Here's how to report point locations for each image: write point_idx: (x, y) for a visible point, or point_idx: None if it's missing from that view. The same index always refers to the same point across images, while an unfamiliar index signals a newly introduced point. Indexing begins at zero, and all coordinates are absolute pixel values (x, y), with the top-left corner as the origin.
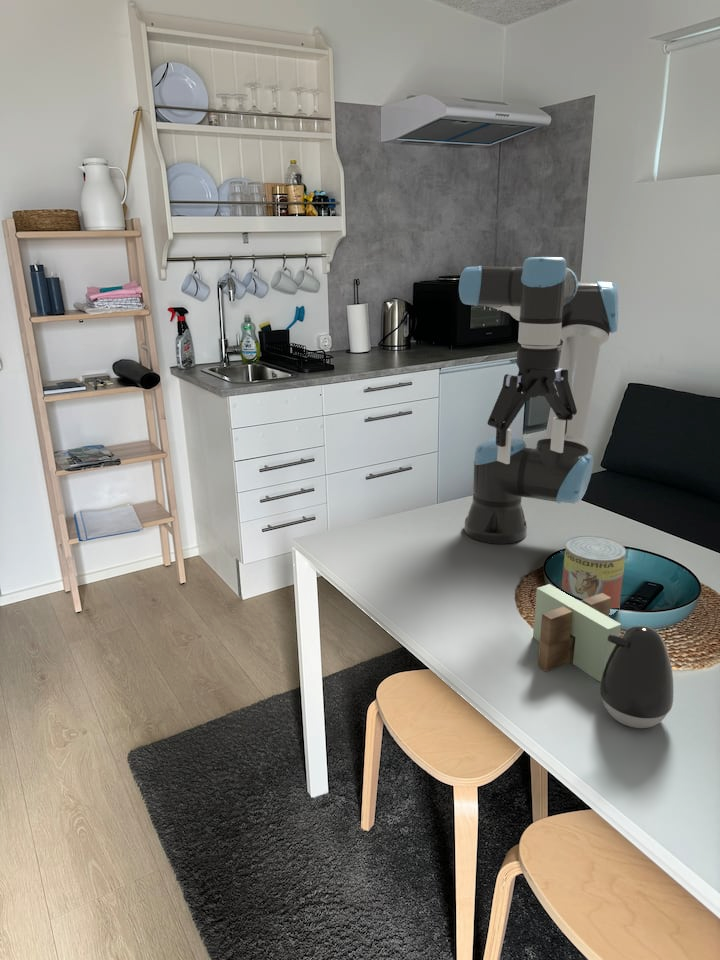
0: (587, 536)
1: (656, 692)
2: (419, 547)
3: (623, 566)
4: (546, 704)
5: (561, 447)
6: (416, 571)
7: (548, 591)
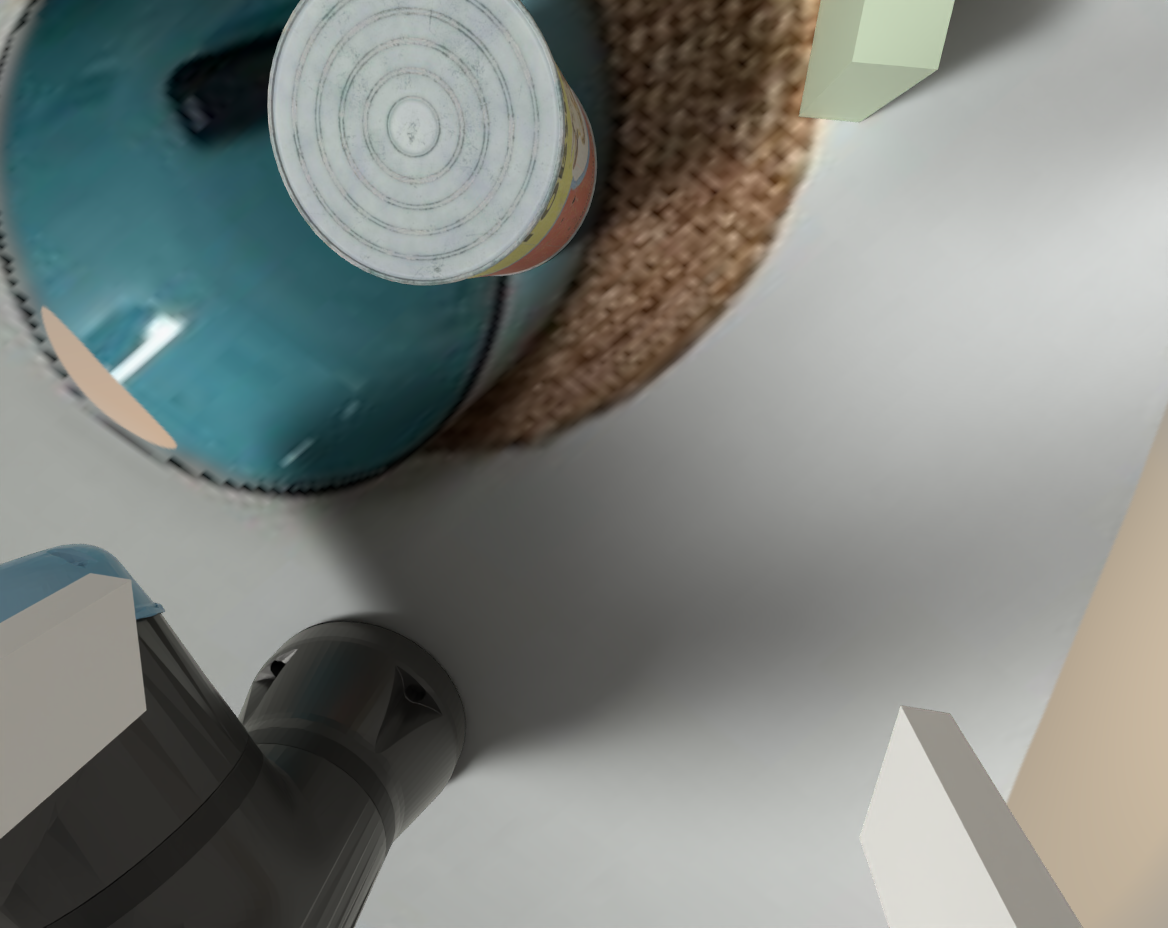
0: (340, 250)
1: None
2: (652, 786)
3: None
4: None
5: (61, 611)
6: (790, 684)
7: (928, 3)
